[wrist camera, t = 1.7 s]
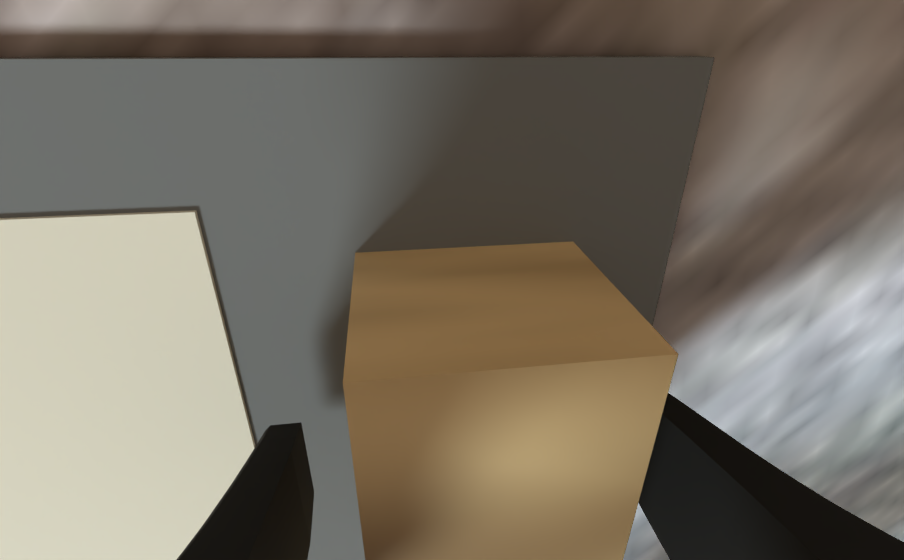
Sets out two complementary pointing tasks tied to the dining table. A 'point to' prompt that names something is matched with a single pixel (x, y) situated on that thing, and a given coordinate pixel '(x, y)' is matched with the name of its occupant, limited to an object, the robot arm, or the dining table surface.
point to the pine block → (498, 404)
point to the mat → (274, 254)
